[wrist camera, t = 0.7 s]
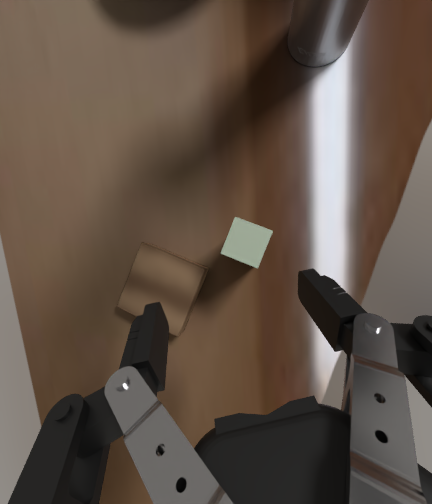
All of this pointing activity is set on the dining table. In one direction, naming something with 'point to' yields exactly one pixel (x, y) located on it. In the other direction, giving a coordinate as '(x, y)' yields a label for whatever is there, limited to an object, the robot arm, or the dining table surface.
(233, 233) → the pillar
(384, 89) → the dining table surface
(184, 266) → the base slab
